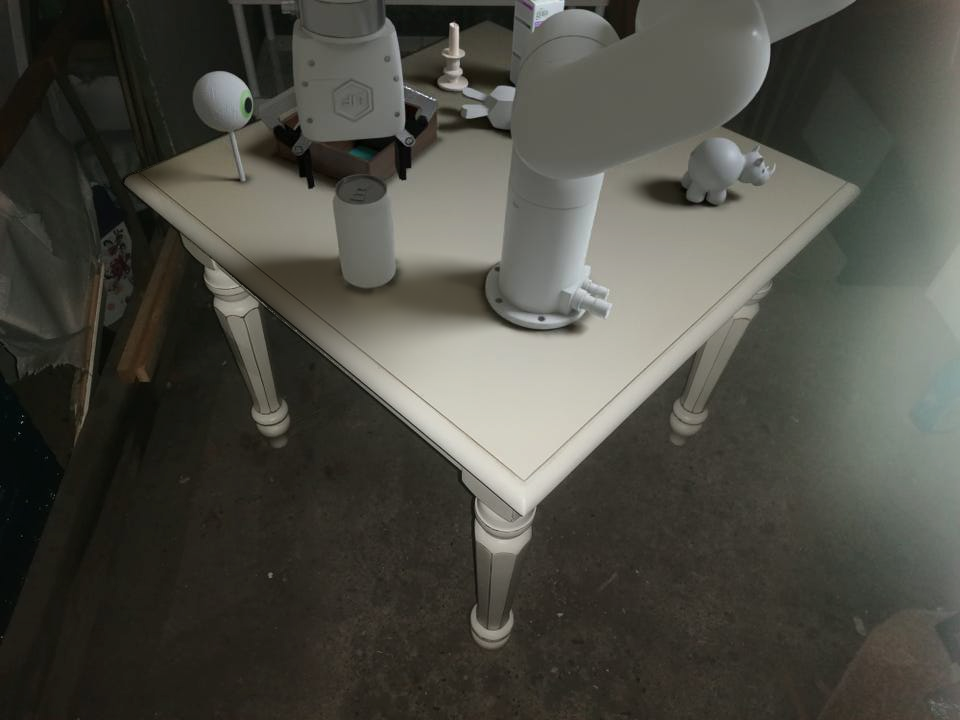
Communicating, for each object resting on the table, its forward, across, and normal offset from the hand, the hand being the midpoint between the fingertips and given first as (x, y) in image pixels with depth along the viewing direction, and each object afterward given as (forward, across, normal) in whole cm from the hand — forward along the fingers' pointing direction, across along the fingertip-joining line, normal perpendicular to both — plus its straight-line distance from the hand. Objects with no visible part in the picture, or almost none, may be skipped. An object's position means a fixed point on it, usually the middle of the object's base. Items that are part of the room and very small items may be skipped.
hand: (356, 177), depth 71 cm
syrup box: (+13, +35, +43) cm, 57 cm away
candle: (+14, +22, +45) cm, 52 cm away
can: (+14, +1, 0) cm, 14 cm away
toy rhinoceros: (+13, +52, +6) cm, 54 cm away
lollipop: (+14, -14, +22) cm, 30 cm away
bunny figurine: (+13, +28, +31) cm, 43 cm away
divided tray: (+14, +3, +28) cm, 31 cm away
